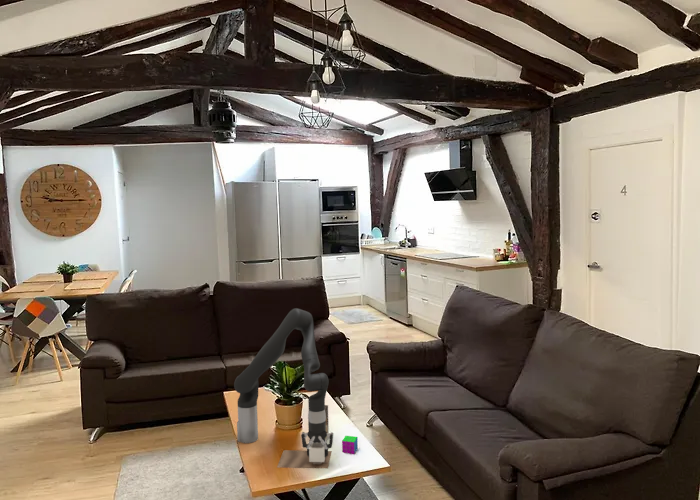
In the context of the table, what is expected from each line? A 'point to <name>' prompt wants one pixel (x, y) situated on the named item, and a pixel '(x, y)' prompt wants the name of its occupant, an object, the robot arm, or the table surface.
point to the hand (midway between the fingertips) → (317, 456)
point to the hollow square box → (316, 453)
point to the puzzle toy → (349, 444)
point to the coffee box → (326, 421)
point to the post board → (301, 459)
